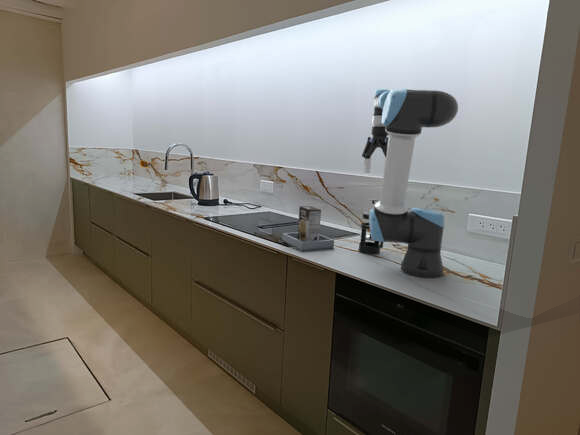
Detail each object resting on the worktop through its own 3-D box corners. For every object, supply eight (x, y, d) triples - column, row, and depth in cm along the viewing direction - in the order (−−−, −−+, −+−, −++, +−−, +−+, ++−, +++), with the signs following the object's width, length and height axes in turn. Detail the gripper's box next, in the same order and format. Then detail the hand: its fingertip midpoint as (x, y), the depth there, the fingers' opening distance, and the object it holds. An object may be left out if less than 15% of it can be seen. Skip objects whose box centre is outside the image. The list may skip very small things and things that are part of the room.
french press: (352, 250, 179) (356, 198, 174) (366, 247, 185) (370, 197, 181) (374, 256, 170) (379, 201, 166) (387, 253, 176) (392, 200, 172)
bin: (333, 248, 179) (334, 240, 178) (301, 251, 172) (302, 242, 171) (312, 239, 195) (312, 231, 194) (282, 241, 187) (282, 233, 186)
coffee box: (296, 241, 185) (298, 206, 182) (309, 240, 188) (311, 205, 185) (306, 246, 177) (308, 209, 174) (319, 245, 180) (321, 209, 177)
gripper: (407, 126, 172) (402, 176, 176) (369, 127, 194) (365, 171, 198) (393, 125, 169) (388, 176, 173) (356, 126, 190) (353, 171, 194)
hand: (376, 174), depth 185 cm, fingers open, 13 cm apart
